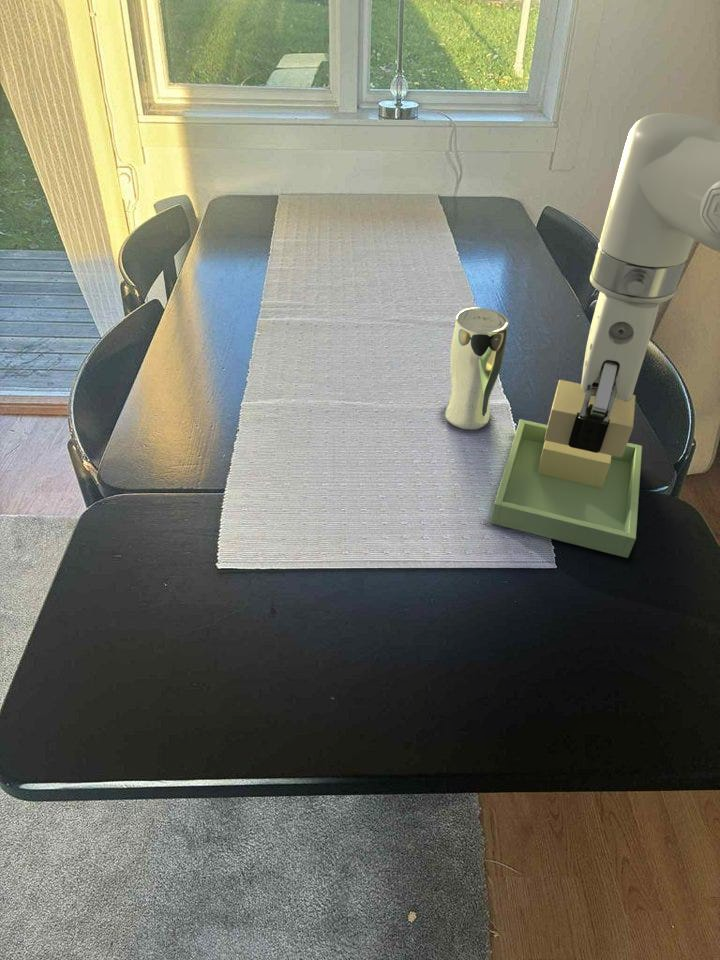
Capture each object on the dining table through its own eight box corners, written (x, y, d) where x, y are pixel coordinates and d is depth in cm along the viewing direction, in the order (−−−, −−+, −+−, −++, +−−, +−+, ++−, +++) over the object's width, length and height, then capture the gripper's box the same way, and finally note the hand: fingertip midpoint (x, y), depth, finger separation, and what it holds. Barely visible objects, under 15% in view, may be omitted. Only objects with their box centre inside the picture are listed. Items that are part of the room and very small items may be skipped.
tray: (635, 464, 91) (642, 445, 89) (627, 558, 78) (636, 539, 76) (515, 437, 94) (519, 418, 92) (490, 523, 82) (494, 503, 80)
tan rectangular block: (625, 425, 76) (636, 395, 74) (622, 458, 72) (633, 427, 69) (551, 409, 78) (559, 379, 75) (543, 440, 74) (552, 409, 71)
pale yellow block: (605, 459, 90) (614, 435, 88) (601, 488, 86) (610, 463, 83) (543, 445, 92) (549, 421, 90) (536, 473, 88) (543, 448, 85)
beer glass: (502, 417, 98) (521, 320, 88) (472, 438, 94) (488, 339, 84) (462, 396, 101) (476, 301, 91) (431, 416, 97) (443, 319, 88)
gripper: (680, 321, 56) (617, 488, 68) (680, 240, 68) (627, 394, 80) (584, 303, 57) (539, 470, 69) (601, 228, 70) (560, 381, 82)
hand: (587, 428), depth 75 cm, fingers closed on tan rectangular block, 6 cm apart
